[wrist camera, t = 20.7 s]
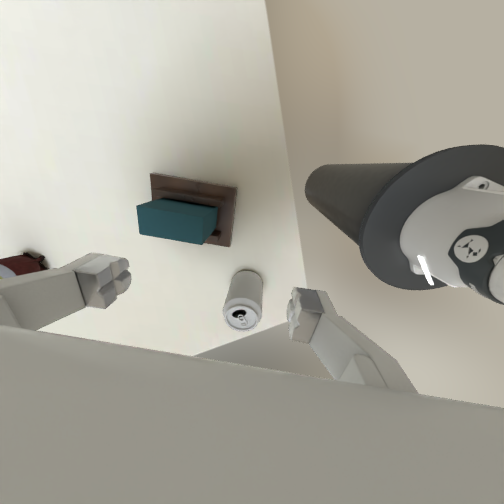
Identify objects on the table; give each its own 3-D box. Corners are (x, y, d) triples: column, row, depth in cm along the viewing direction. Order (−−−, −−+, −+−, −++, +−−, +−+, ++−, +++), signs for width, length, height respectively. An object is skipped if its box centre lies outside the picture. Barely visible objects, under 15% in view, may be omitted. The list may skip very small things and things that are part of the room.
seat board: (237, 187, 35) (233, 190, 31) (230, 244, 40) (226, 253, 36) (154, 172, 35) (139, 173, 31) (158, 232, 40) (146, 239, 36)
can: (254, 264, 42) (250, 298, 31) (267, 289, 44) (268, 329, 33) (226, 275, 43) (213, 311, 33) (240, 298, 46) (232, 339, 35)
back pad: (217, 205, 35) (203, 217, 27) (216, 227, 37) (202, 245, 29) (166, 196, 35) (136, 205, 27) (167, 219, 37) (139, 234, 29)
